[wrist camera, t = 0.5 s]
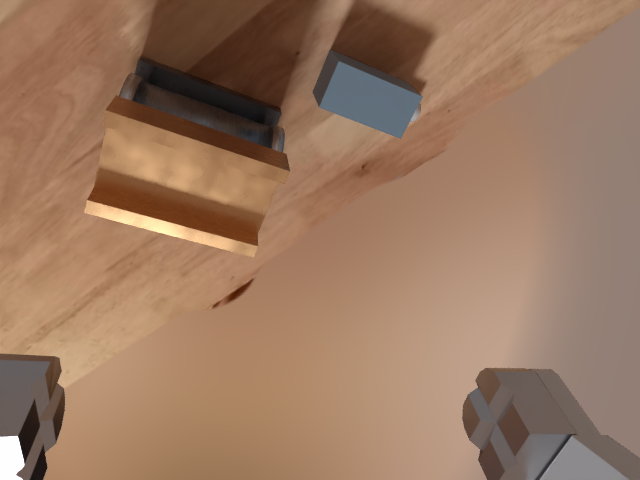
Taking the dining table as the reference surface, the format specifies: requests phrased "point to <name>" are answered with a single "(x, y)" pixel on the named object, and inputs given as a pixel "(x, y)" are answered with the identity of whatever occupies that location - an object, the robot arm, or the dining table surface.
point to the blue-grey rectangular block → (366, 95)
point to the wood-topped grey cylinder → (189, 159)
